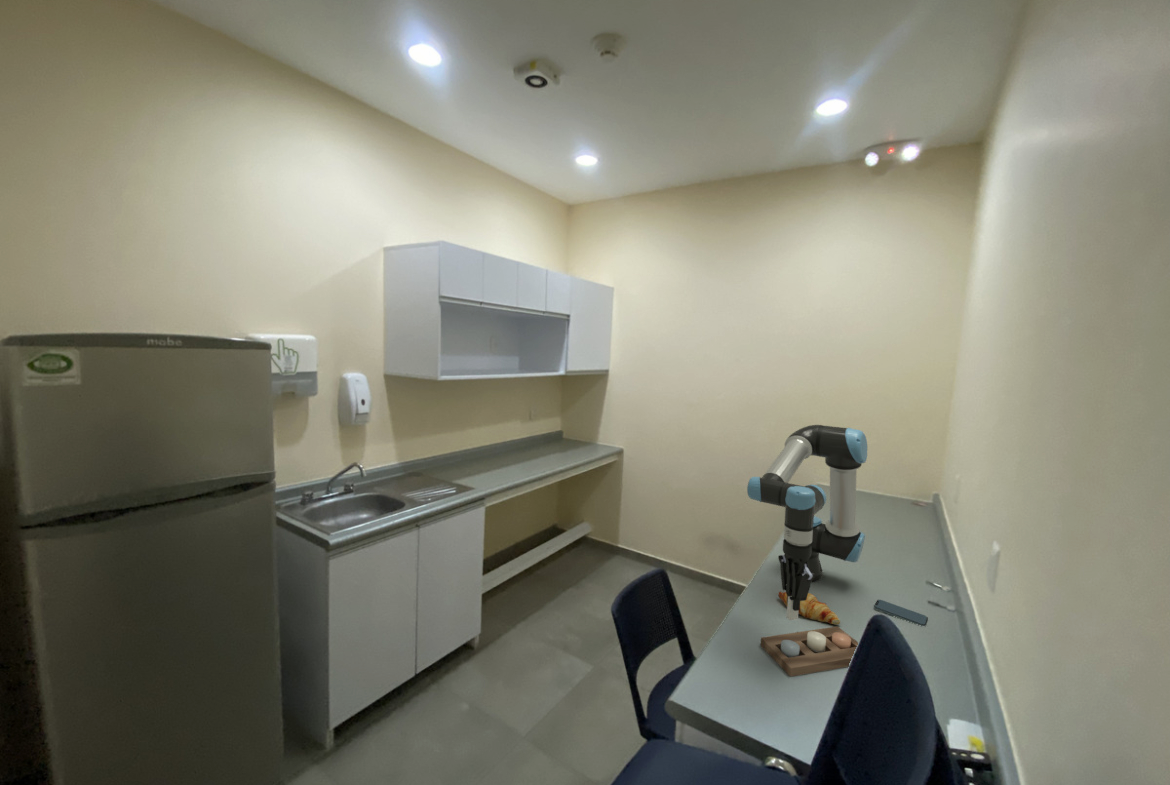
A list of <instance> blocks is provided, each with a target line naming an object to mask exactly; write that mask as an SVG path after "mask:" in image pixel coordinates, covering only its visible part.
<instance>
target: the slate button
mask: <svg viewBox="0 0 1170 785" xmlns="http://www.w3.org/2000/svg"><path fill="white" fill-rule="evenodd" d="M799 649H800V647H799V645H798V644H797V643H796V642H794V641H791V640H783V641H782V642H781V652H782V653H783V654H784V655H785V656H787V657H788V658H790V657H796V656H799Z"/></svg>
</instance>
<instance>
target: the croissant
mask: <svg viewBox="0 0 1170 785" xmlns="http://www.w3.org/2000/svg"><path fill="white" fill-rule="evenodd" d="M778 597H779V599H780V600H782V602H783V604H784V605H785V606H786V607H787V594H786V591H783V592H782V591H778ZM798 615H800V616H802V617H804V618H807V619H810V620H814V621H815V620H816V621H819V622H823V623H829V624H830V625H835V626H836V625H840V624H841V620H840V619H839V617H838V615H837V614H836V613H835V612H834V611H832V610H831V609H830V607H829V606H828V605H827V603H826V602H821V601H819V600H818V599H817V597H816V596H815V595H814V594H813V593H809V592H808V595H807V599H806V600H805V601H800V609H799V611H798Z"/></svg>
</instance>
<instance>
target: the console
mask: <svg viewBox="0 0 1170 785" xmlns="http://www.w3.org/2000/svg"><path fill="white" fill-rule="evenodd" d="M810 631H815V632H819V633H821V634H823V635H824V636H825V637H826V646H825V652H821V653H817V652H814V651H812V650H810V649H809V648H808V647H807V634H808V632H810ZM835 632H839V633H843V634H846V635H847V636H849V637H850V638H851V646H850V648H846V649H839V648H838V647H837V646H836V645H835V644H833V643H832V634H833V633H835ZM783 640H791V641H794V642H796V643H797V644H798V645H799V647H800V649H799V656H796V657H790V658H788V657H787V656H785V655H784V654H783V653H782V652H781V642H782V641H783ZM857 645H858V641H857V640H856V639H854V637H852V636H851V635H849V634H848V633H847V632H845V631H844V629H842V628H840V626H836V625H835V626H832V627H831V626H829V627H823V628H817V629H810V630H803V631H797V632H791V633H790V632H789V633H782V634H777V635H770V636H763V637H762V636H761V637H760V647H761V648H762V649H764V651H766V652H767V654H768V655H769V657H771V658H772V659H773V660H774V661H775V662H776V663H777V664H778V665H779V666H780V668H781V669H783V670H784V671H785V673H786V674H787V675H788V676H789V677H790V678H791V677H796V676H802V675H808V674H813V673H819V672H825V671H830V670H831V671H832V670H836V669H842V668H843V669H844V668H849V667H850V666H849V663H850V661H851V658H852V656H853V654H854V651H855V649H856V647H857ZM848 666H849V667H848Z"/></svg>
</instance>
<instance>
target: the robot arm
mask: <svg viewBox="0 0 1170 785" xmlns="http://www.w3.org/2000/svg"><path fill="white" fill-rule="evenodd" d="M810 456H812V457H813V456H814V457H820V458H824V459H825V461H824V463H825V465H826V466H827V467H829V520H827V521H826V522H825V523H823V521H822V519H821V518H820V517H818V516H815V515H816V514H817V513H818V512H819V511H821V510H822V509H823V508H824V505H825V504H826V501H827V495H826V494H827V493H826V492H825V491H824V490H823V488H822V487H820V486H818V485H816V484H807V485H805V486H804V485H799V484H793V483H790V481H791V479H792V478H793V476H794V475H795V473H796V471H798V469H799V467H800V466H801V465H802V464H803V461H804V460H806V459H808V458H810ZM867 458H868V441H867V436H866V434H865V433H864V431H862V430H860V429H855V428H851V427H840V426H831V425H822V424H810V425H807V426H804V427H802V428H799V429H797V430H795V431H794V432H793V433H791V434H790V435H789V436H788V437H787V438H786V440H785V442H784V447H783V449H782V450H781V452H780V453H779V455H777V457H776V458H775V459H774V461H773V462H772V463H771V465H770V466H769V468H768V469H767V470H766V471H765V473H764V474H763V475H762V476H761V477H760V476H751V477H750V479H749V480H748V483H747V488H746V490H747V491H746V493H747V496H748V498H749V499H751V500H754V501H757V502H760V503H764V504H769V505H774V506H779V507H782V508H784V509H785V510H784V527H783V528H784V529H783V540H782V552H783V553H784V554H781V555H778V561H779V565H780V566H779V567H780V577H781V578H780V579H781V588H782V590H783V591H784V592H786V594H787V606H786V608H787V610H786V619H788V620H789V621H795V620H798V619H799V614H798V611H799V609H800V601H805V600H806V599H807V595H808V593H809V592H810V588H811V585H812V582H817V581H820V580H823V579H822V578H823V574H824V573H823V567H822V564H821V561H820V554H821V555H824V556H828V557H831V558H835V559H839V560H842V561H843V562H850V563H856V562H859V559H860V557H861V554H862V551H863V548H864V543H865V540H866V535H865V533H863V532H862V531H861V530H860V529H861V528H860V526H859V524H858V523H856V514H857V513H856V512H857V511H856V508H857V503H856V501H857V470H859V469H860V468H861V467H862V464H864V463H867V462H866V461H867Z"/></svg>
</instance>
